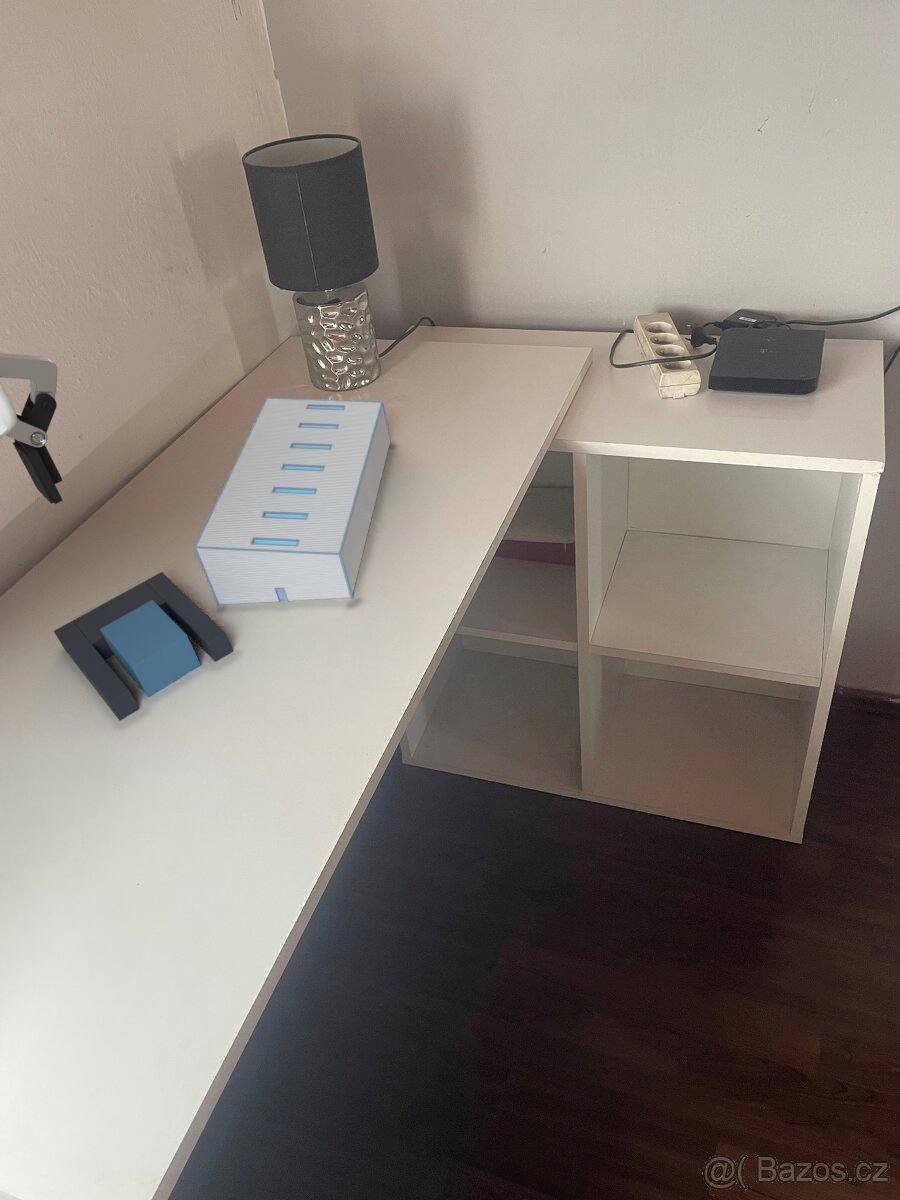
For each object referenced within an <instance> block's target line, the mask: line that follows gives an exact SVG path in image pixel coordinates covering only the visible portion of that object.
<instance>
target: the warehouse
mask: <svg viewBox="0 0 900 1200" xmlns="http://www.w3.org/2000/svg"><path fill="white" fill-rule="evenodd" d="M391 443H392V439H391V434H390V429H389V424H388V419H387V415H386V410H385V405H384V401H381V400H355V399H353V400H351V399H328V398H327V399H326V398H325V399H324V398H322V399H321V398H300V397H299V398H297V397H296V398H295V397H294V398H293V397H270V396H269V397H268V396H266V397H265V399H264V400H263V403H262V405H261V407H260V409H259V411H258V414H257V416H256V417H255V420H254V421H253V424H252V426H251V428H250V430H249V432H248V434H247V436H246V438H245V440H244V442H243V444H242V447H241V449H240V451H239V453H238V454H237V457H236V459H235V461H234V463H233V465H232V467H231V469H230V471H229V473H228V475H227V476H226V477H227V478H226V479H225V482H224V483H223V486H222V487H221V490H220V492H219V493H218V496H217V498H216V500H215V502H214V504H213V506H212V508H211V510H210V512H209V514H208V517H207V518H206V521H205V522H204V524H203V527H202V529H201V531H200V533H199V535H198V537H197V539H196V541H195V543H194V545H193V550H194V552H195V555H196V558H197V560H198V562H199V564H200V567H201V570H202V572H203V574H204V576H205V579H206V582H207V583H208V587H209V588H210V591H211V593H212V596H213V598H214V600H215V603H216V605H217V606H220V605H234V604H236V605H238V604H255V603H257V604H258V603H273V602H274V603H275V602H279V603H281V601H287V602H292V601H293V602H295V601H313V600H332V599H333V600H334V599H349V598H350V599H354V595H353V594H354V591H355V586H356V582H357V578H358V575H359V569H360V566H361V562H362V559H363V555H364V550H365V546H366V542H367V538H368V534H369V530H370V525H371V522H372V518H373V514H374V509H375V505H376V501H377V498H378V494H379V490H380V485H381V482H382V477H383V473H384V470H385V466H386V460H387V457H388V453H389V449H390V446H391Z"/></svg>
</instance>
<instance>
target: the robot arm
mask: <svg viewBox="0 0 900 1200" xmlns="http://www.w3.org/2000/svg"><path fill="white" fill-rule="evenodd" d="M0 378H4V379H17V380H19V379H20V380H29V387H30V392H29V394H28V396H27V399H26V401H25V403H24V406H23V409H22V411H21V413H19V412H18V411H17V412H16V409H15V407H14V404H13V403H12V401H11V399H10V397H9V395H8V393H7V391H6V389H5V388H4V385H3V384H2V382H1V381H0V440H1V439H3V438H5V437H8V438H11V439H13V440H14V442H12V444H13V447H14V449H15V450H16V452H17V454H18V456H19V458H20V460H21V462H22V464H23V466H24V467H25V469H26V471H27V472H28V475H29V477H30V478H31V480H32V482H33V484H34V486H35V487H36V489H37V491H38V492H39V493H40V494H41V495H42V496H43V497H44V498H45V500H47V501H48V502H49V503H50V504H51V505H52V504H54V505H56V504H57V505H58V504H59V503H60V502H63V498H62V496H61V494H60V492H59V490H58V488H57V486H56V484H59V483H61V482H63V477H62V475H61V474H60V472H59V470H58V468H57V465H56V464H55V462H54V460H53V458H52V456H51V454H50V452H49V449H48V447H47V446H46V444H47V443H48V438H49V437H48V434H47V432H48V430H49V427H50V425H51V422H52V420H53V417H54V415H55V412H56V410H57V407H58V403H57V401H56V394H57V385H58V366H57V365H56V363H55V362H53V361H52V360H51V359H49V358H47V357H46V356H41V355H30V354H29V355H27V354H17V353H6V352H5V353H3V352H0Z"/></svg>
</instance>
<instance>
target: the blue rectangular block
mask: <svg viewBox="0 0 900 1200" xmlns="http://www.w3.org/2000/svg"><path fill="white" fill-rule="evenodd" d="M100 631H101V633H102V634H103V636H104V638H105V640H106V642H107V643H108V645H109V647H110V649H111V651H112V652H113V654H114V655H113V656H114V658H115V660H116V661H117V662H118V663H119V664H120V665H121V667H122V668H123V669H124V670H125V671H126V672H127V674H128V675H129V676H130V677H131V679H132V680H133V681H134V682H135V684H137V686H138V687H139V688H140V689H141V691H142V692H143V693H144V694H145V695H146V696H147V698H150V697H151V696H153V695H155V694H156V693H158V692H160V691H161V690H163V689H164V688H166V687H168V686H169V685H171V684H172V683H174V682H176V681H178V680H179V679H181V678H182V677H184V676H186V675H187V674H188V673H191V672H192V671H195V669H197V668H199V667H201V662H200V660H199V658H198V655H197V654H196V651H195V649H194V647H193V645H192V642H191V641H190V638H189V635H188V634H187V633H186V632H185V631H184V629H183V628H182V627H181V626H180V625H179V624H178V623H177V622H176V621H175V620H174V619H173V620H172V619H171V618H170V617H169V616H168V615H167V614H166V613H165V612H164V611H163V610H162V609H161V608H160V607H159V606H158V605H157V604H156V603H155V602H154V601H153V600H151V601H149V602H147V603H146V604H144V605H142V606H140V607H139V608H137V609H135V610H133V611H131V612H130V613H128V614H126V615H124V616H122V617H121V618H119V619H117V620H115V621H114V622H112V623H110V624H108V625H106V626H105V627H103V628H101V629H100Z"/></svg>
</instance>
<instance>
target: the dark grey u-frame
mask: <svg viewBox="0 0 900 1200" xmlns="http://www.w3.org/2000/svg"><path fill="white" fill-rule="evenodd" d="M151 600H153V601H154V602H155V603H156V604H157V605H158V606H159V607H160V608H161V609H162V610H163V611H164V612H165V613H166V614H167V615H168V616H169V617H170V618H171V619H172V620H173V621H174V622H175V623H176V624H177V625H178V626H179V627H180V628H181V629H182V630H183V631H184V633H185V634H186V635H187V636H188V637H190V638H191V639H192V640H193V641H194V642H195V643H196V644H197V645H198V646H199V647H200V648H201V649H202V650H203V651H204V652H205V653H206V654H207V655H208V656H209V657H210V658H211V659H212V660H213V661H214V662H218V661H220V660H221V659H223V658H225V657H227V656H228V655H229V654H231V653H233V651H234V650H233V646H232V644H231V643H230V640H229V637H228V635H227V633H226V632H225V631H224V629H222V628H221V627H220V626H219V625H218V624H217V623H216V622H215V621H214V620H213V619H212V618H211V617H210V616H209V615H208V614H207V613H206V612H205V611H203V609H202V608H200V607H199V606H198V605H197V604H196V603H195V602H194V601H193V600H192V599H191V598H190V597H189V596H188V595H187V594H186V593H185V592H183V590H182V589H181V588H179V587H178V586H177V584H175V583H174V582H173V581H172V579H170V578H169V577H168V576H167V575H166V574H165V573H164V572H163V571H160V572H159V573H156V574H155V575H153V576H151V577H150V578H148V579H145V581H143V582H141V583H139V584H137V585H135V586H133V587H131V588H130V589H128V590H125V591H124V592H122V593H120V594H118V595H117V596H115V597H113V598H111V599H109V600H107V601H106V602H104V603H102V604H100V605H98V606H97V607H95V608H93V609H91V610H90V611H87V612H86V613H84V614H82V615H80V616H78V617H77V618H75V619H73V620H71V621H69V622H68V623H66V624H64V625H62V626H60V627H58V628H56V629H55V630H53V633H54V634H55V636H56V638H57V640H58V642H59V643H60V644H61V646H62V648H63V649H64V650H65V651H66V653H67V654H68V656H69V657H70V658H71V660H72V661H73V662H74V663H75V665H76V666H77V667H78V669H79V670H80V671H81V673H82V674H83V675H84V677H85V679H86V680H87V681H88V682H89V683H90V684H91V686H92V688H94V690H95V691H96V693H98V695H99V696H100V697H101V698H102V700H103V701H104V703H105V704H106V705H107V706H108V708H109V709H110V710H111V711H112V713H113V714H114V716H115V717H116V719H118V721H122V720H123V719H124V718H127V717H128V716H130V715H132V714H133V713H135V712H136V711H138V710H139V709H140V707H139V705H138V703H137V701H136V699H135V698H134V696H133V694H132V692H131V691H130V689H129V688H128V687H127V685H126V684H125V683H124V682H123V680H121V678H120V677H119V676H118V674H117V673H116V671H114V670H113V668H112V667H111V666H110V665H109V663H108V662H107V661H106V660H107V659H108V658H110V657H112V656H114V654H113V652H112V651H111V649H110V647H109V645H108V643H107V642H106V640H105V638H104V636H103V634H102V633H101V631H100V629H101V628H103V627H105V626H106V625H108V624H110V623H112V622H114V621H115V620H117V619H119V618H121V617H122V616H124V615H126V614H128V613H130V612H131V611H133V610H135V609H137V608H139V607H140V606H142V605H144V604H146V603H147V602H149V601H151Z"/></svg>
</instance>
